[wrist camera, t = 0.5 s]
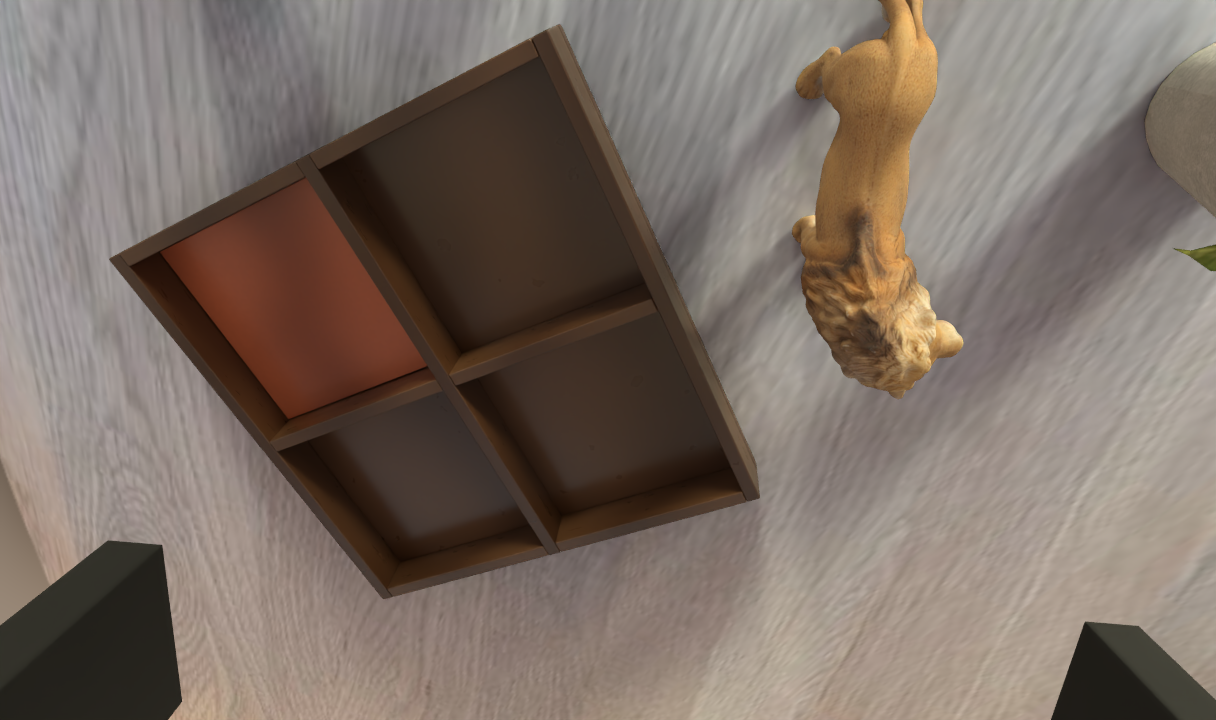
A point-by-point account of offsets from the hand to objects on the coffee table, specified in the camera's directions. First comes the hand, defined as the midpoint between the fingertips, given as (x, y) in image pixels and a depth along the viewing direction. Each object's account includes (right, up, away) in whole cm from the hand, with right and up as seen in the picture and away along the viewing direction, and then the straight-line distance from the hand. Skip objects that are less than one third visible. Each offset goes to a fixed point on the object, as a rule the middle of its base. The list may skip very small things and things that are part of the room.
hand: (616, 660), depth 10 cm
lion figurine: (+10, +13, +19) cm, 25 cm away
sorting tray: (-8, +5, +26) cm, 27 cm away
